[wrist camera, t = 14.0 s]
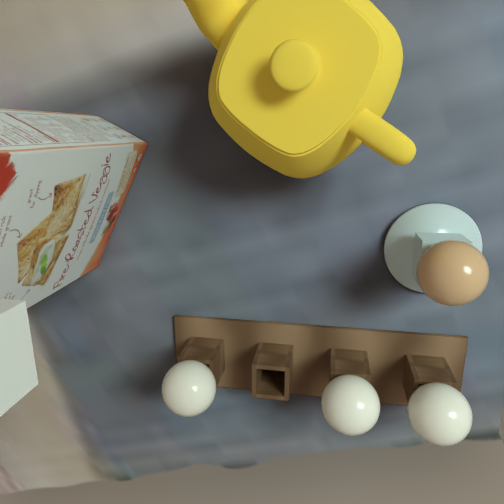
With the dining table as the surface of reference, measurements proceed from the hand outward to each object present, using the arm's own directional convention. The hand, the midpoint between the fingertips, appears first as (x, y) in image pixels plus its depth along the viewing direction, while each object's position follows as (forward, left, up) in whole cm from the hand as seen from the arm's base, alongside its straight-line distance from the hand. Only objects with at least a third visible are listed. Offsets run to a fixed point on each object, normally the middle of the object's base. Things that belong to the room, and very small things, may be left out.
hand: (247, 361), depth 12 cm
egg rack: (+1, -16, -29) cm, 33 cm away
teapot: (-1, +10, -29) cm, 31 cm away
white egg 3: (+12, -16, -22) cm, 30 cm away
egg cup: (+11, -4, -29) cm, 31 cm away
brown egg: (+11, -4, -22) cm, 25 cm away
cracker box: (-20, 0, -29) cm, 35 cm away
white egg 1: (-10, -16, -22) cm, 29 cm away
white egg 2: (+4, -16, -22) cm, 28 cm away
